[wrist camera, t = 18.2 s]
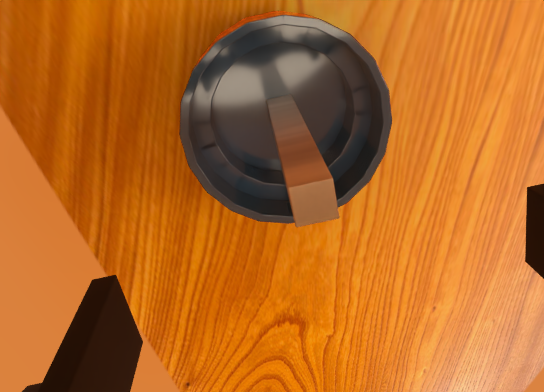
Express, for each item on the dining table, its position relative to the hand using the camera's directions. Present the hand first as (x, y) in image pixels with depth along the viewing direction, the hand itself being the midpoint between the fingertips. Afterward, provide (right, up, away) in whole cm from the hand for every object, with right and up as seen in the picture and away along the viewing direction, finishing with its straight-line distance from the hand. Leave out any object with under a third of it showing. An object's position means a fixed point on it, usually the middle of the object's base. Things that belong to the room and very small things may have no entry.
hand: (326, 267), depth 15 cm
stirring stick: (-1, +9, +22) cm, 24 cm away
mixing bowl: (-1, +9, +23) cm, 25 cm away
